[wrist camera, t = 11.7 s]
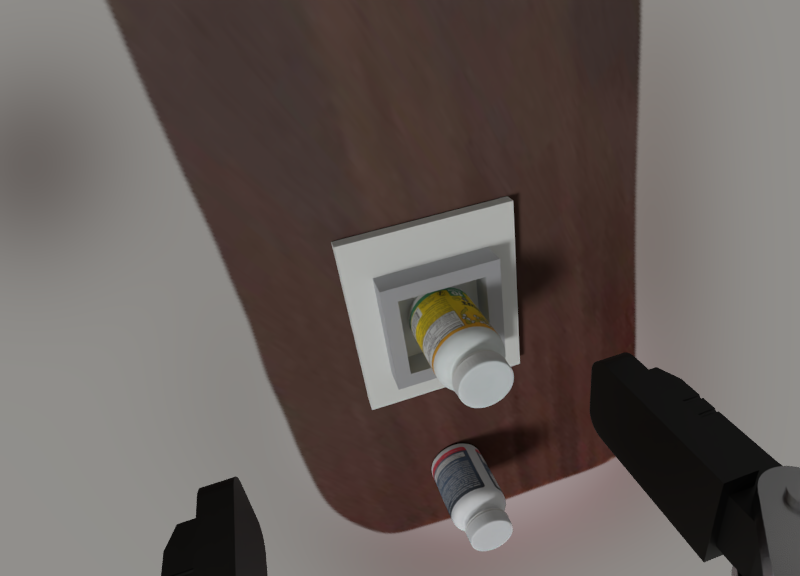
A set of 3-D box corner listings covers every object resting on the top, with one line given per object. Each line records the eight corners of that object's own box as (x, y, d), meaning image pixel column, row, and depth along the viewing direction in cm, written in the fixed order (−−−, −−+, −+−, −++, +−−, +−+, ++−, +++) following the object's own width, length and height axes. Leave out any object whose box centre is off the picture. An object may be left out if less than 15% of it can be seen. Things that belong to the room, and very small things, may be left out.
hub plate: (331, 241, 40) (339, 260, 37) (507, 196, 42) (527, 210, 39) (369, 402, 48) (378, 427, 45) (514, 357, 50) (531, 378, 48)
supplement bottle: (394, 309, 43) (433, 385, 35) (449, 269, 42) (502, 336, 34) (428, 350, 46) (471, 429, 38) (480, 313, 45) (535, 384, 37)
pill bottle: (421, 477, 55) (453, 555, 47) (444, 438, 53) (481, 513, 45) (464, 482, 57) (501, 558, 49) (488, 445, 55) (530, 517, 48)
